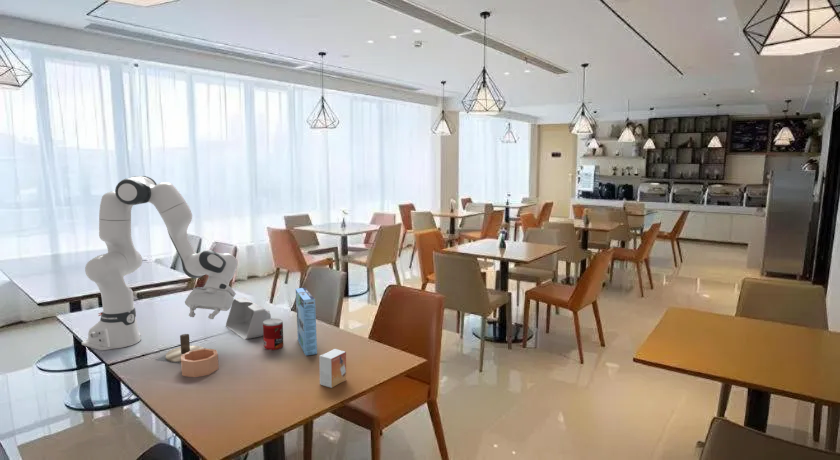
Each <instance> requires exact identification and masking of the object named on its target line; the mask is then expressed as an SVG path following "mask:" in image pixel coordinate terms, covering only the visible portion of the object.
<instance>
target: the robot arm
mask: <svg viewBox="0 0 840 460" xmlns="http://www.w3.org/2000/svg"><path fill="white" fill-rule="evenodd" d="M114 190H115V191H114ZM114 190H113V191H108V192H105V193H104V194H103V195H102V196H101V199H100V204H99V212H98V214H99V215H98V231H99V232H98V236H99V239H100V240H101V241H103V242H104V243H105V245H106V247H107V253H102V254H99V255H97V256H95V257H93V258H92V259H90V260H88V261H87V263H86V264H85V268H84V272H85V274H86V275H85V276H87V278H88V279H89V280H90V281H92V282H93V283H94V284H95V285H96V286H97V287H98V290H99V293H100V295H101V304H102V312H98V313H97V315H98V317H99V316H100V319H99V321H97V323H95V324H94V325H93V326H92V327H90V328H89V330H88V334H87V335H88V336H87V337H88V338H86V339H84V340H83V341H82V342H81V345H82V346H85V347H88V348H91V349H95V350H98V351H101V352H102V351H109V350H114V349H120V348H125V347H127V348H128V347H129V346H133V345H135V344H137V343H139V342H140V341H141V340H142V338H141V332H140V331H139V325H138V320H137V318H136V317H137V314H136V313H137V311H136V307H135V304H134V292H133V290H132V288H131V287H129V286H127V284H126V282H125V279H124V278H125V277H124V276H127V275H132V274H133V273H134V272H136V271H137V270H138V269H140V268H141V266H142V264H143V257H142V255H141V253H140V252H139V251H138V250H137V249H136V248H135V246H134V242H133V239H132V208H133V207H134V206H135V205H136V206H137V205H141V204H148V203H150V204H151V205H153V206H154V208H155V209H156V211H157V212H158V214H159V215H160V217H161V218H162V220H163V222H164V224H165V227H166V229H167V233H168V236H169V238H170V240H171V242H172V244H173V246H174V248H175V250H176V252H177V254H178V256H179V258H180V261H181V267H182V271H183V273H184V274H185V275H186V276H187V277H189V278H191V279H199V278H202V277H204V276H205V275H207V276H208V278H207V281H206V282H205V284H204V285H203V286H201V287H200V286H196V287H195V288H193V289H192V291H190V292H189V294H188V295H187V297H186V299H185V301H184V304H185V305H186V306H187V307H188V308H189V313H188V316H189V317H190V318H194V317H195V316H196V313H195V311H196V310H197V309H202V310H210V311H212V310H213V311H212V312H211V313H208V314H209V315H208V317H207V318H208V320H214V319H215V316H217V315H218V314H219V313H220V312H221V311H222V312H223V311H224V312H228V311H230V309H231V306H232V303H233V300H234V299H235V296H236V295H237V293H236V292H235V290H234V289H233V288H232V287H231V286H230V285H229V284H230V282H231V281H232V279H233V278H234V276H235V274H236V271H237V270H238V269H237V268H238V260H237V258H236V257H235V256H234V255H233V254H231V253H228V252H224V253H220V252H217V251H215V250H213V249H205V250H202V251H199V252H198V253H197V252H196V251H195V250H194V247H193V245H192V244H191V240H190V239H189V238H188V237H189V236H188V228H189V226H190V224H191V223H192V219H193V214H192V210H191V209H190V206H189V205H188V203H187V202H186V199H185V198H184V197H183V195H182V194H181V193H180V191H179V190H178V189H177V188H176V187H175V186H174V185H173V183H171V182H166V181H165V182H164V181H163V182H159V183H157V182H156V181H155V180H154V179H153V178H152V177H149V176H146V175H135V176H131V177H127V178H124V179H122V180H121V181H119V182H118V183H117V185H116V187H115V189H114Z"/></svg>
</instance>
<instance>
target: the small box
mask: <svg viewBox="0 0 840 460" xmlns="http://www.w3.org/2000/svg"><path fill="white" fill-rule="evenodd" d="M318 358H319V362H318V363H319V385H321V386H324V387H327V388H332V389H333V388H334V387H335V386H337V385H340V384H341V383H343V382H345V381H346V380H347V352H346V351H344V350H340V349H338V348H333V349H332V350H329V351H328V352H325V353H322V354H320V355H319V357H318Z"/></svg>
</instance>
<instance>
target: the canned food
mask: <svg viewBox="0 0 840 460" xmlns="http://www.w3.org/2000/svg"><path fill="white" fill-rule="evenodd" d="M283 323H284V322H283V319H280V318H271V319H268V320H265V321H263V336H262V338H263V347H264V349H265V350H266V351H267V350H268V351H277V350H280V349H282V348H283V347H284V324H283Z"/></svg>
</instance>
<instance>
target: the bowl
mask: <svg viewBox="0 0 840 460" xmlns="http://www.w3.org/2000/svg"><path fill="white" fill-rule="evenodd" d="M180 368H181V369H180V370H181V375H182V377H189V378H197V377H199V378H200V377H203V376H210V375H211V374H213V373H214V372H215V371H217V370H219V354H218V351H217V349H215V348H214V349H212V348H206V347H203V349H197V350H191V351H189V352H187V353H185V354H183V355H181V364H180Z"/></svg>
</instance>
